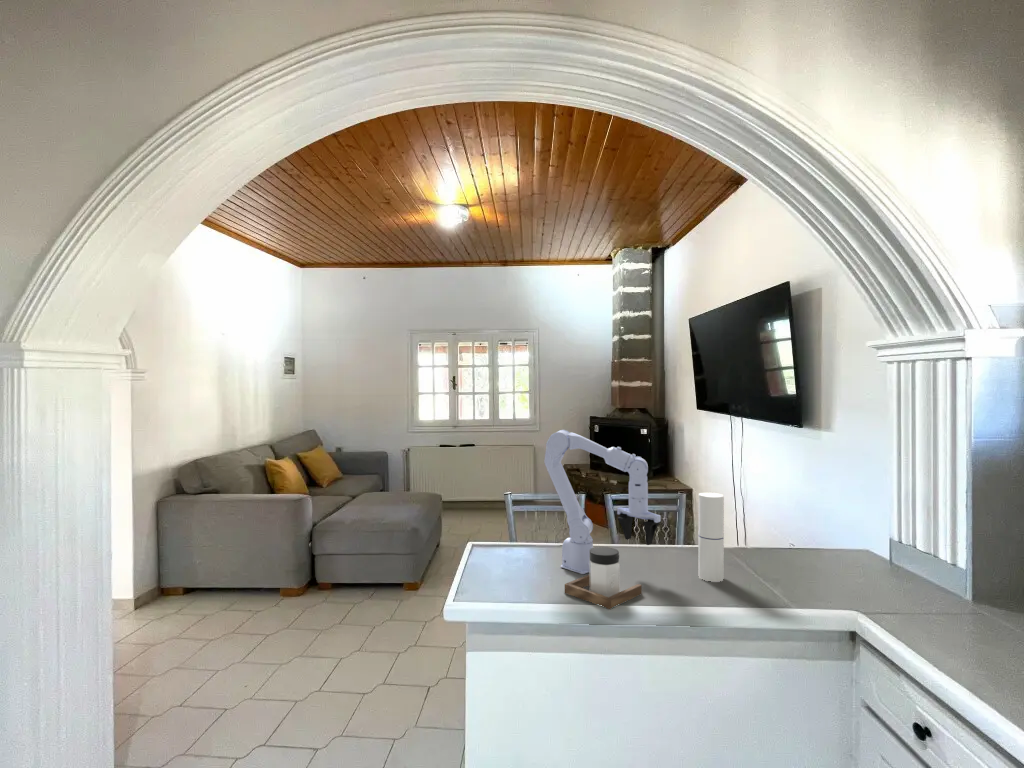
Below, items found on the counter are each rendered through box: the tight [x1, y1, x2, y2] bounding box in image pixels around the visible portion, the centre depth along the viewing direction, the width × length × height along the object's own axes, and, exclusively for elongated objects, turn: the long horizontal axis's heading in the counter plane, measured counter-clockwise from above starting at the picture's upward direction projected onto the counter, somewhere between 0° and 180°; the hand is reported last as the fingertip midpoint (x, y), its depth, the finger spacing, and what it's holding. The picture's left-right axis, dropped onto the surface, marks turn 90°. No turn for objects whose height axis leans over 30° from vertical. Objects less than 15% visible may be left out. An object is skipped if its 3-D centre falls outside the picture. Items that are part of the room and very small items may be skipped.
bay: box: [564, 574, 643, 610], centre depth 154 cm, size 15×15×2 cm
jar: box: [588, 546, 621, 597], centre depth 154 cm, size 9×8×12 cm
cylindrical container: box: [697, 491, 725, 583], centre depth 166 cm, size 7×7×25 cm
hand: (638, 541), depth 169 cm, fingers open, 7 cm apart
